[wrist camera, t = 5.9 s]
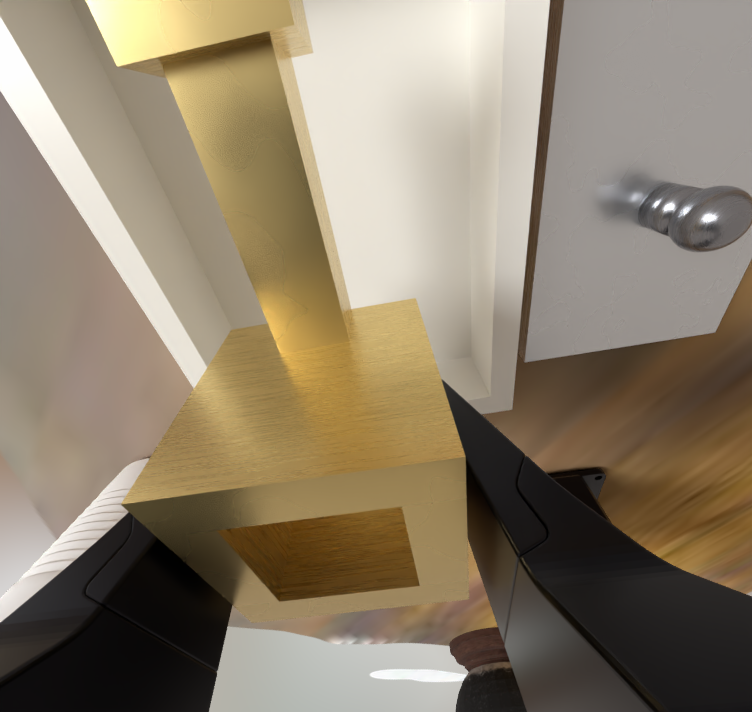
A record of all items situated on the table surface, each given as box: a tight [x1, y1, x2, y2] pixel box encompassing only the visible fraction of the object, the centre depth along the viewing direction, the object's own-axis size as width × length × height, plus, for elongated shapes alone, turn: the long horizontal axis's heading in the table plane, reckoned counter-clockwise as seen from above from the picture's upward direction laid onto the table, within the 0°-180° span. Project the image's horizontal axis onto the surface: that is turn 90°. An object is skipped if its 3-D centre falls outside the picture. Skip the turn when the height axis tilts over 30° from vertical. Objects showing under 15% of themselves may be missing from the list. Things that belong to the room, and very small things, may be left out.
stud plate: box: [518, 0, 752, 362], centre depth 11 cm, size 16×9×4 cm, turn 10°
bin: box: [0, 0, 550, 414], centre depth 12 cm, size 17×13×4 cm
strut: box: [86, 0, 469, 623], centre depth 6 cm, size 12×5×5 cm, turn 10°
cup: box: [0, 458, 150, 622], centre depth 18 cm, size 10×10×11 cm
